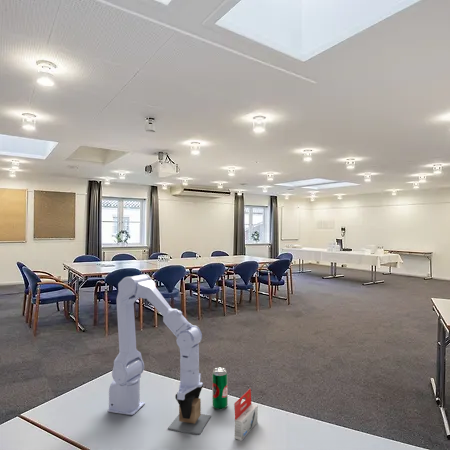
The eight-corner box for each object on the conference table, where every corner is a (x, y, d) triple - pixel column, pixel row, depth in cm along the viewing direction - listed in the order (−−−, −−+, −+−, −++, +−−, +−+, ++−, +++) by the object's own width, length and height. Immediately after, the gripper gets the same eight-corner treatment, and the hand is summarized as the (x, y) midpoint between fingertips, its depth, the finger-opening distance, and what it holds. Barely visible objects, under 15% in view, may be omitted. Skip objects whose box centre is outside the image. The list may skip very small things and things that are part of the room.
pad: (167, 429, 99) (167, 428, 99) (181, 412, 108) (181, 411, 108) (199, 434, 96) (199, 433, 96) (210, 416, 106) (210, 415, 106)
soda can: (226, 410, 109) (225, 373, 109) (210, 409, 110) (210, 372, 110) (228, 403, 114) (228, 367, 114) (214, 401, 115) (214, 366, 115)
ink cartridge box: (258, 422, 102) (257, 389, 103) (241, 441, 93) (241, 405, 93) (250, 420, 104) (250, 387, 104) (233, 439, 94) (233, 403, 94)
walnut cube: (179, 421, 100) (179, 404, 101) (185, 412, 105) (185, 396, 105) (194, 423, 99) (194, 406, 99) (200, 414, 104) (200, 398, 104)
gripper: (193, 378, 95) (193, 428, 94) (209, 360, 109) (209, 403, 108) (170, 376, 97) (170, 424, 96) (189, 358, 110) (189, 400, 110)
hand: (189, 413), depth 102 cm, fingers closed on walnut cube, 5 cm apart
